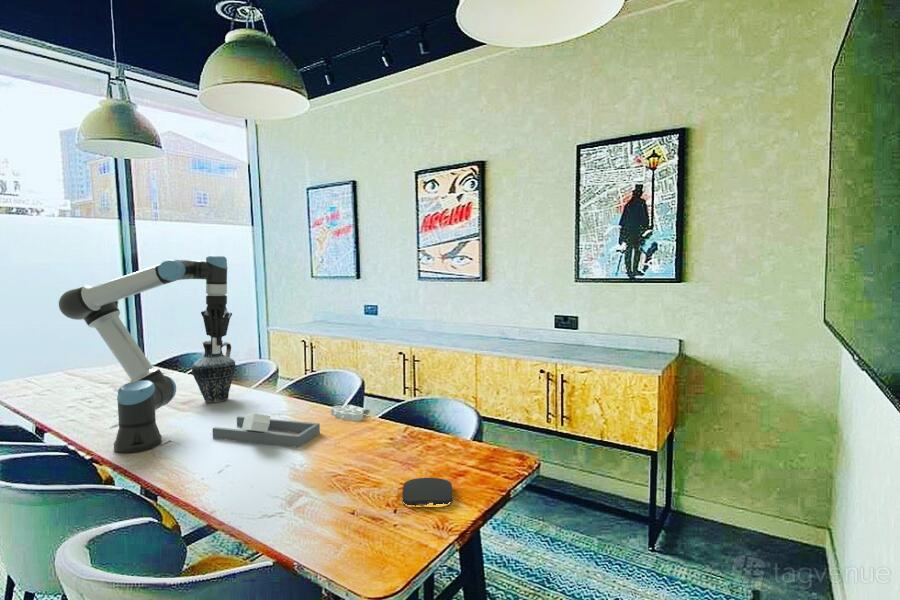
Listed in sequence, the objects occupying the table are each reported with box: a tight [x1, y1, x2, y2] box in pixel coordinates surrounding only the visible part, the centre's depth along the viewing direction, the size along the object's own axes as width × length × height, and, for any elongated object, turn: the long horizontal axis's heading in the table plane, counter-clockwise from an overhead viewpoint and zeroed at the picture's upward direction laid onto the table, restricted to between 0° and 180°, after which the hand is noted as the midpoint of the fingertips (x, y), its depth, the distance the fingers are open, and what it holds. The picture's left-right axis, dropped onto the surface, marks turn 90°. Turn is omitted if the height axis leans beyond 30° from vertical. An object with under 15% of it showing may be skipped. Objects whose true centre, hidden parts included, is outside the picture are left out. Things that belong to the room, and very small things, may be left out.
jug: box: [191, 340, 236, 403], centre depth 244 cm, size 21×19×30 cm
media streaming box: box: [402, 477, 453, 506], centre depth 146 cm, size 15×15×3 cm
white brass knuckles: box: [330, 404, 371, 422], centre depth 223 cm, size 3×18×15 cm
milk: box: [241, 413, 271, 432], centre depth 191 cm, size 6×6×22 cm
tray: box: [212, 415, 321, 448], centre depth 196 cm, size 16×38×4 cm, turn 76°
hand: (216, 353), depth 197 cm, fingers closed
